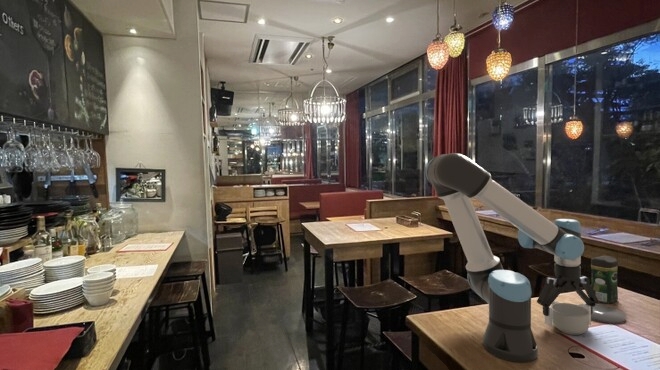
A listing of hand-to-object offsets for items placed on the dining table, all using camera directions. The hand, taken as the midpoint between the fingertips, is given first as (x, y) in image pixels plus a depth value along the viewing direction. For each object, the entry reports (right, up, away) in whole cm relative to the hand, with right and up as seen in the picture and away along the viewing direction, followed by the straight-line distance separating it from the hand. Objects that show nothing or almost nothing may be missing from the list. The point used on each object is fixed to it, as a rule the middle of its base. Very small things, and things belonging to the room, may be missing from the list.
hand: (567, 323), depth 119 cm
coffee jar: (+32, 0, +25) cm, 41 cm away
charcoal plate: (+20, -1, +10) cm, 22 cm away
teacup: (0, -2, 0) cm, 2 cm away
